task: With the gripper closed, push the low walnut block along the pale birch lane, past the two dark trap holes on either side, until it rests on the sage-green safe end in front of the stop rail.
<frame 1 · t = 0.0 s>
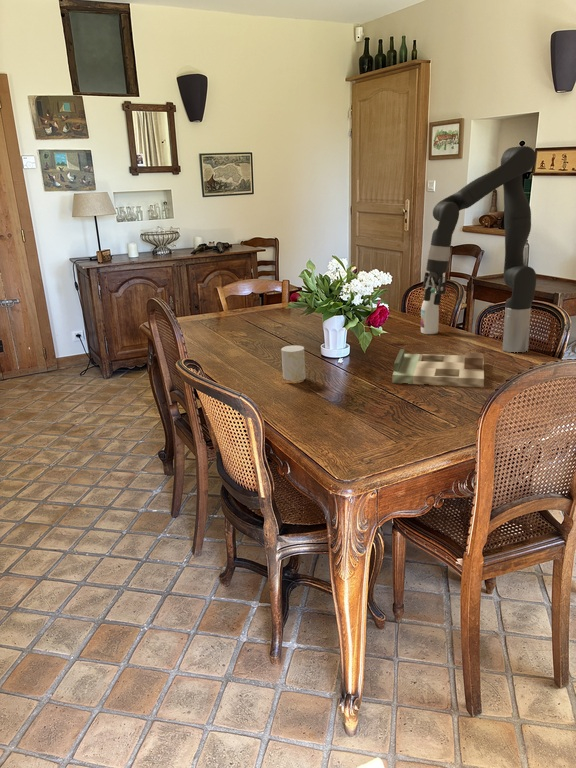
hand: (431, 302, 216), 22 cm above the table, tool pointing down, fingers open, 8 cm apart
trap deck: (439, 373, 208), on the table
grey beige cylinder: (294, 380, 210), on the table
walnut block: (473, 366, 203), point 3 cm above the table, touching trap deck
milk bottle: (429, 332, 262), on the table
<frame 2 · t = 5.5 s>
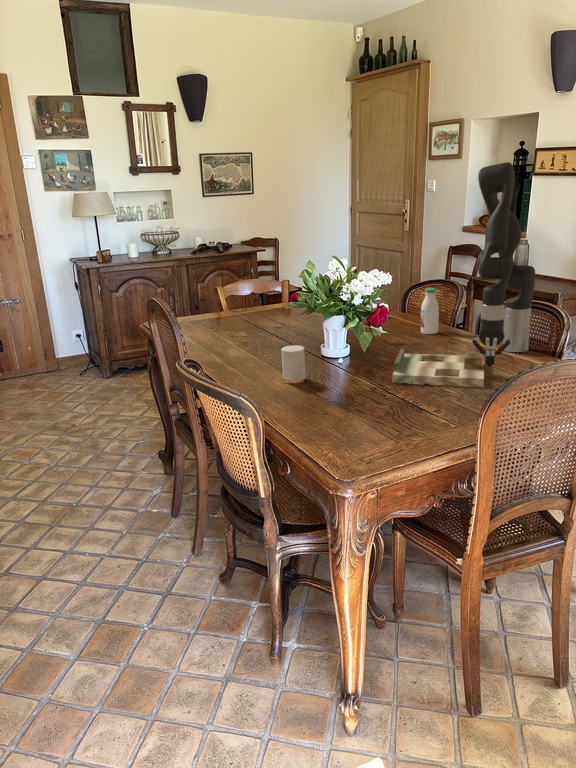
hand: (489, 365, 202), 4 cm above the table, tool pointing down, fingers closed
walnut block: (473, 366, 204), point 3 cm above the table, touching gripper
everything else where it was.
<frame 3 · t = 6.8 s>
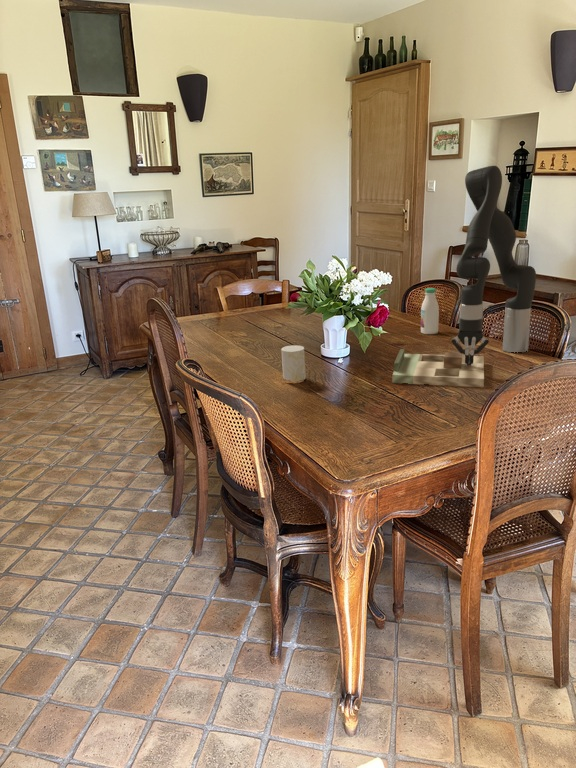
hand: (468, 364, 204), 4 cm above the table, tool pointing down, fingers closed
walnut block: (452, 365, 206), point 3 cm above the table, touching gripper
everything else where it was.
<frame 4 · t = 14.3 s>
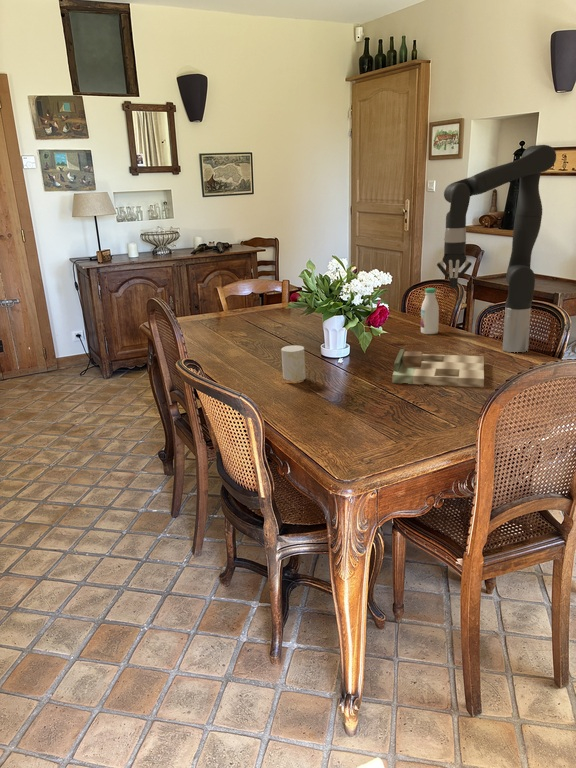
hand: (453, 287, 217), 27 cm above the table, tool pointing down, fingers closed
walnut block: (412, 364, 210), point 3 cm above the table, touching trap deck
everything else where it was.
at the end: walnut block 0.2 cm from the target spot on the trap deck, point 3.0 cm above the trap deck's base; walnut block tilted 0° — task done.
